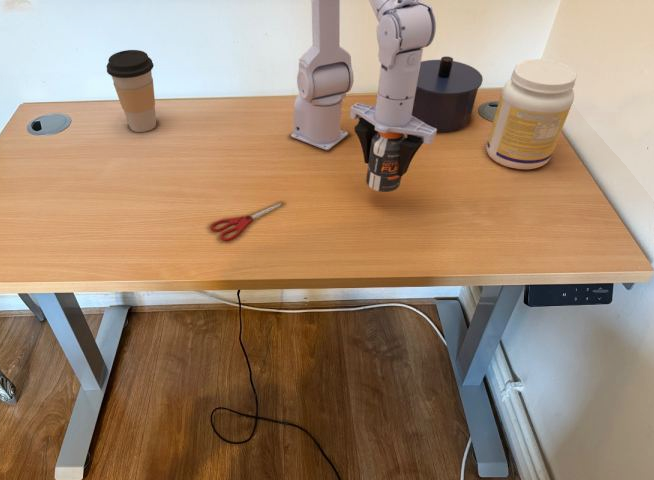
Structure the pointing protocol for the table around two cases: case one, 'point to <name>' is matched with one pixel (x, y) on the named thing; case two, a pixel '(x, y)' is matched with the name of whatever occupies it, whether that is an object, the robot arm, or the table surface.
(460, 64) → the pot lid
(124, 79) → the coffee cup
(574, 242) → the table surface
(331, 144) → the robot arm
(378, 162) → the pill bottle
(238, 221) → the scissors
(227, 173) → the table surface
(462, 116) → the pot
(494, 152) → the supplement tub
